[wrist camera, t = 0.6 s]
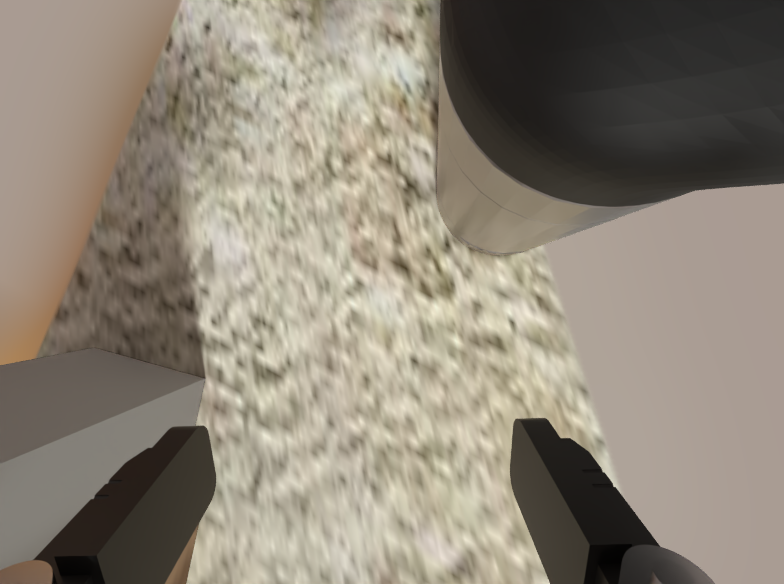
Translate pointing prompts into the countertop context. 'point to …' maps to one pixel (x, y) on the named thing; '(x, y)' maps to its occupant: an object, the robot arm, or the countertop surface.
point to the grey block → (76, 435)
